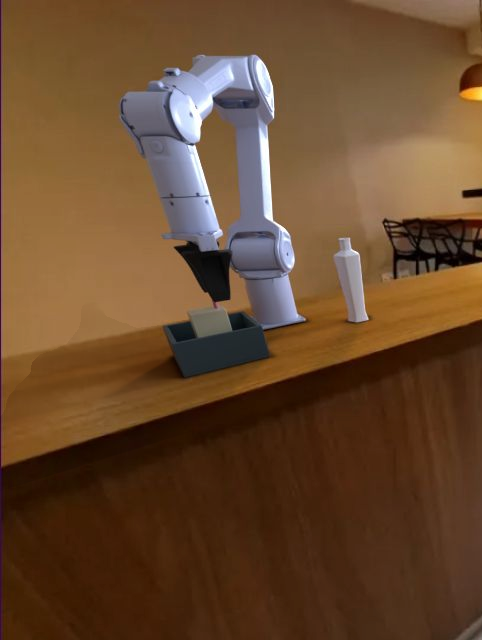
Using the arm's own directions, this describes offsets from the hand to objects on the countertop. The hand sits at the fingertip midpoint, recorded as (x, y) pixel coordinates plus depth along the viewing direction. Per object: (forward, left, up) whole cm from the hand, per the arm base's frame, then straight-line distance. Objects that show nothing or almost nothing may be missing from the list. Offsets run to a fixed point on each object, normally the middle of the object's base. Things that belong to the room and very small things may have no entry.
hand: (216, 295), depth 65 cm
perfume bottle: (-3, +22, -10) cm, 24 cm away
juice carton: (0, -2, -9) cm, 9 cm away
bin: (0, -2, -9) cm, 10 cm away
